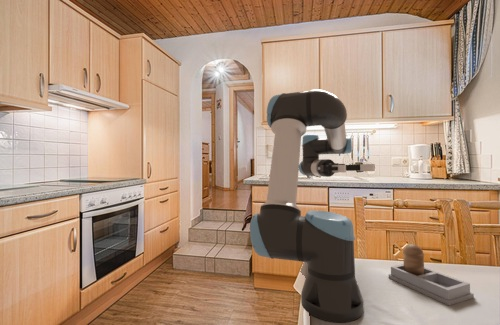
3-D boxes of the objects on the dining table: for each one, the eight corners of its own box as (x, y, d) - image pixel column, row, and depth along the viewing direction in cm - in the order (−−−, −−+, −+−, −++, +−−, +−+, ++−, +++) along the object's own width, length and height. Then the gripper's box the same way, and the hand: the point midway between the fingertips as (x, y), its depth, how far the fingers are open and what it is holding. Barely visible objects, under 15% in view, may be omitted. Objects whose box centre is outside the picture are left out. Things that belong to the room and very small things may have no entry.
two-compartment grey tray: (388, 277, 81) (388, 266, 81) (410, 272, 85) (410, 261, 85) (449, 305, 65) (448, 291, 65) (473, 297, 68) (473, 284, 69)
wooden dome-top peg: (408, 281, 76) (407, 247, 76) (401, 273, 82) (400, 241, 82) (427, 282, 76) (426, 247, 76) (419, 274, 81) (418, 242, 81)
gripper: (346, 175, 120) (385, 177, 100) (299, 177, 111) (332, 179, 91) (345, 159, 120) (385, 157, 100) (299, 159, 111) (331, 158, 91)
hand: (360, 168), depth 96 cm, fingers open, 13 cm apart
